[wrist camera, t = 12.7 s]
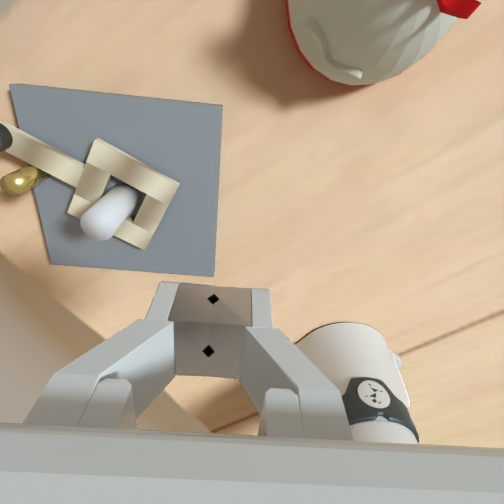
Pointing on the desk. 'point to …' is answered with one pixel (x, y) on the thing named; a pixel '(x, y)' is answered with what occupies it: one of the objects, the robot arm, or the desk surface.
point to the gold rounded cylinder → (23, 180)
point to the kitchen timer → (370, 34)
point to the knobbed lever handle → (98, 179)
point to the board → (146, 142)
